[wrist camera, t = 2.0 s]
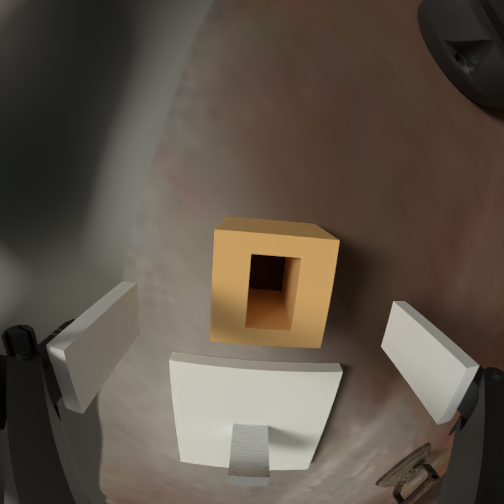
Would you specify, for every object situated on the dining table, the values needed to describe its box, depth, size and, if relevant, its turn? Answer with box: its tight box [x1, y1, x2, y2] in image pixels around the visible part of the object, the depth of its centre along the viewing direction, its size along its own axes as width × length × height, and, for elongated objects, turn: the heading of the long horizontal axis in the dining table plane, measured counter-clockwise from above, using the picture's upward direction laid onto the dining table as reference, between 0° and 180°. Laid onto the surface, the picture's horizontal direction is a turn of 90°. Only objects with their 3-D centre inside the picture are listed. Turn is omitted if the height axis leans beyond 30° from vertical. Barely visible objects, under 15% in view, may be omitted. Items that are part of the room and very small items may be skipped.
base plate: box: [169, 352, 343, 470], centre depth 27 cm, size 16×17×2 cm
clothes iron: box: [376, 443, 440, 504], centre depth 27 cm, size 7×11×10 cm, turn 165°
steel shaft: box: [228, 423, 270, 486], centre depth 22 cm, size 4×2×7 cm, turn 85°
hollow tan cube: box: [210, 216, 340, 348], centre depth 20 cm, size 7×7×7 cm
